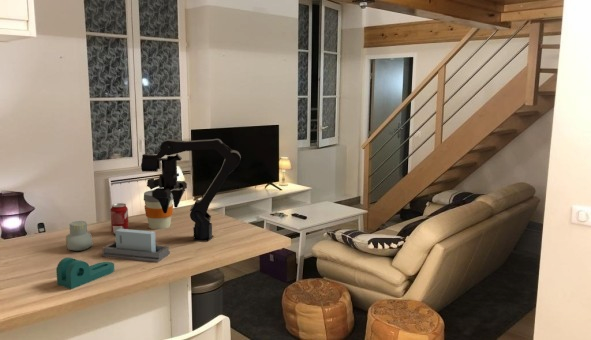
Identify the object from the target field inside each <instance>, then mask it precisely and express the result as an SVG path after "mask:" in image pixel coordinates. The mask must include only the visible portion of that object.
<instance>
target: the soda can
mask: <svg viewBox="0 0 591 340" xmlns="http://www.w3.org/2000/svg"><path fill="white" fill-rule="evenodd" d="M109 212H110V225H111V226H110V229H111V233H112V234H113V235H116V233H115V231H116V230H118V229H130V228H129V227H130V226H129V225H130V224H129V208H128V206H127V204H126V203H123V202H121V203H118V202H117V203H113V204H112V205H111V208H110V211H109Z"/></svg>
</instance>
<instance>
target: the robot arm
mask: <svg viewBox="0 0 591 340" xmlns="http://www.w3.org/2000/svg"><path fill="white" fill-rule="evenodd" d="M159 147H160V148H159V149H160V150H159V151H157V153H156V154H148V153H143V154H142V157H141V164H140V168H141V172H145V173H147V172H149V173H150V172H151V173H152V172H158V171H159V170H161V174H159V178H156V179H154V178H153V177H152V178H149V179H147V181H146V187H148V188H149V189H150V190H153V191H152V197H154V198H155V199H157V200H158V201H159V202H160V204H161V207H162V210H163V212H164V213H167V210H168V207H169V203H170V199H171V197H170V195H171V193H172V195H173V208H178V207H179V204H180V202H181V199H182V197H183V195H184V194H185V192H186V189H188V188H187V187H188V183H187V182H186V181H180V180H178V177H179V176H180V173H178V164H177V163H178V162H177V161H179V162H180V161H182V159H183V158H182V157H181V156H180V155H179V154H180V153H184V152H193V151H211V150H215V151H216V152H217V153H218V154H219V155H220V156H221V157H222V158H223V159H224V160H223V163H222V166H221V168H220V170H219V171H218V172H217V175H216V176H215V177H214V179H213V181H212V183H210V185H209V187H208V189H207V190H206V191H205V192H204V195H203V196H202V197H201V198H200V199H199V198H196V199H195V202H194V204H192V205H191V206H190V209H189V211H190V213H189V217H190V220H191V221H192V222H194V226H193V238H192V241H201V242H209V241H211V239H212V238H214V234H213V223H212V222H211V219H212V215H211V214H210V213H208V209H209V207H210V204H211V203H212V201H213V199H215V196H216V195H217V193H218V191H220V188H221V187H222V186H223V184H224V182H225V181H226V179H227V178H228V177H229V175H230V174H231V173H232V172H233V171H234V170H236V168H237V167H238V166H239V165H240V163H241V161H242V159H241V158H242V157H241V154H240V152H239V151H238V150H235V149H232V148H231V147H229V146H228V145H226V143H224V142H223V141H222V140H221V139H220V138H214V139H198V140H181V139H175V138H174V139H173V138H168V139H165V140H164V141H162V142H161V144H160V146H159ZM165 156H167V157H165Z"/></svg>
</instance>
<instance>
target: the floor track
mask: <svg viewBox="0 0 591 340" xmlns="http://www.w3.org/2000/svg"><path fill="white" fill-rule="evenodd" d="M155 245H156V244H155ZM169 248H170V246H166V245H156V252H153V251H143V250H133V249H122V248H116V240H115V241H112V242H110V243H109V244H107V245H106V246H104V247H102V253H101V257H104V258H111V259H122V260H123V259H125V260H133V261H143V262H151V263H160V262H161V261H162V260H163V259H165V258H166V257H168V256H169V255H170V254H171V251H170V249H169Z"/></svg>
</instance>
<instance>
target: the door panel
mask: <svg viewBox="0 0 591 340" xmlns="http://www.w3.org/2000/svg"><path fill="white" fill-rule="evenodd" d="M115 233H116V234H115V242H116V248H122V249H133V250H143V251H153V252H156V231H153V230H152V231H151V230H143V229H142V230H140V229H130V228H129V229H118V230H116V231H115Z"/></svg>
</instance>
